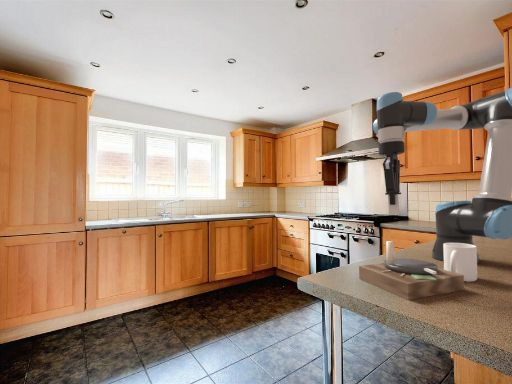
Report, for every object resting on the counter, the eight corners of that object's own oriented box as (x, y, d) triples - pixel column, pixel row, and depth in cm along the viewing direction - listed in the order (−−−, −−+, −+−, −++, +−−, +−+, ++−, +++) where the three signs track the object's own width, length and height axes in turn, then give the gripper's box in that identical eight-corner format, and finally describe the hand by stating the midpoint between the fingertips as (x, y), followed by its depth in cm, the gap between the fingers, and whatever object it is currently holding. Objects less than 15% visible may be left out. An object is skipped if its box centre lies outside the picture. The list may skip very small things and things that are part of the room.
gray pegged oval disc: (375, 262, 86) (375, 238, 86) (417, 261, 87) (417, 237, 87) (408, 279, 69) (408, 248, 69) (461, 278, 69) (460, 247, 69)
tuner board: (408, 272, 90) (407, 259, 90) (466, 290, 72) (465, 274, 72) (359, 278, 83) (359, 265, 83) (409, 300, 66) (409, 283, 66)
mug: (469, 287, 75) (468, 250, 75) (435, 279, 81) (435, 246, 81) (480, 278, 82) (479, 245, 82) (449, 272, 89) (448, 241, 89)
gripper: (383, 146, 93) (386, 213, 93) (372, 141, 83) (375, 216, 83) (408, 143, 88) (411, 213, 88) (399, 137, 78) (402, 217, 78)
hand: (394, 214), depth 85 cm, fingers closed
